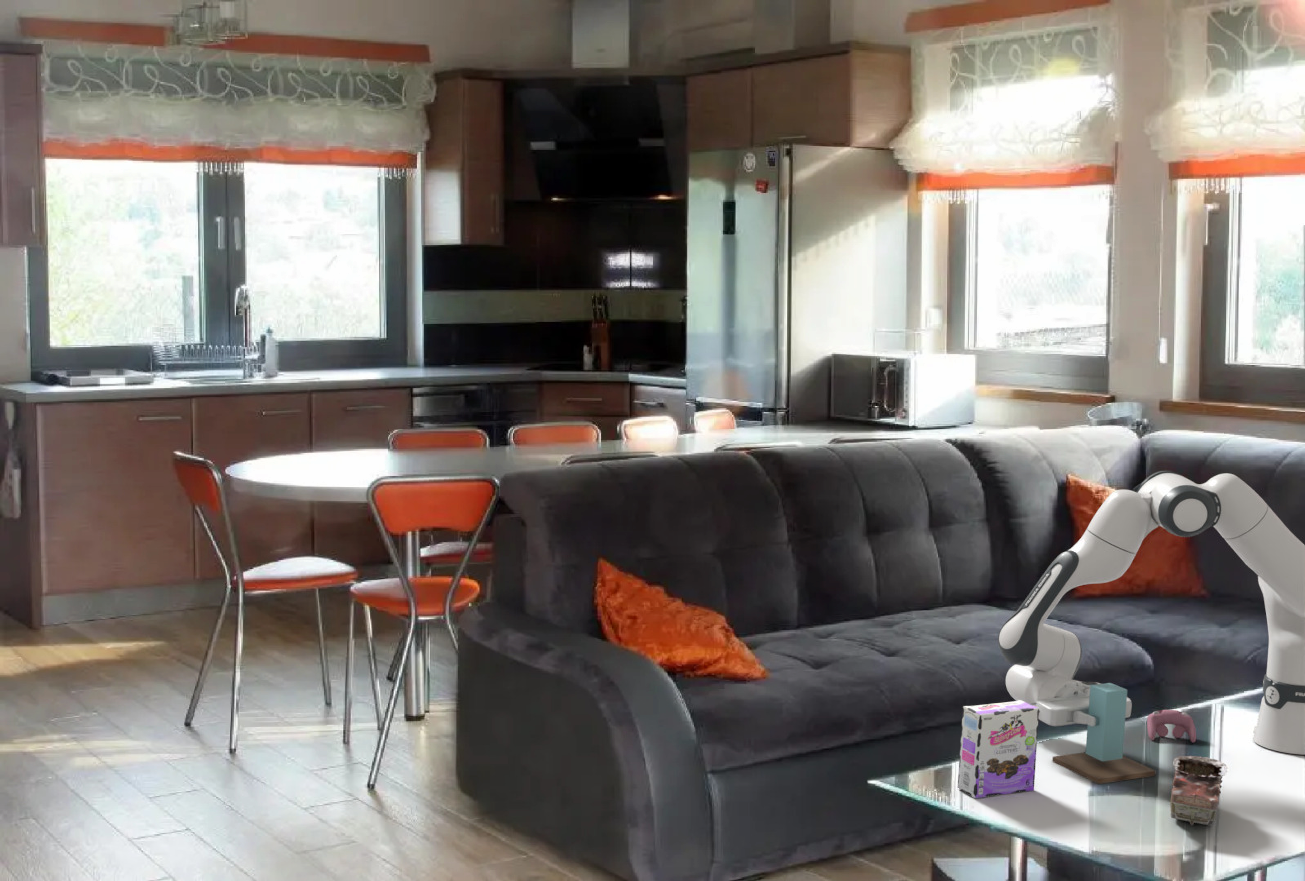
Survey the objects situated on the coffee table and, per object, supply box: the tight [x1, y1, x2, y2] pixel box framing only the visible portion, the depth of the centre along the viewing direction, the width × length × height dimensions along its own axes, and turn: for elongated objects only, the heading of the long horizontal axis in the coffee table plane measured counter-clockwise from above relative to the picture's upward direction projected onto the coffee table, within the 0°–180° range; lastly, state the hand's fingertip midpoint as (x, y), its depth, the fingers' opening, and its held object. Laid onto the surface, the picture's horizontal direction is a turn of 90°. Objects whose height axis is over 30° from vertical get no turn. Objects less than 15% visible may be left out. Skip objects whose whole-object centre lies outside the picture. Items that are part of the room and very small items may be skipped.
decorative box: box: [1169, 755, 1228, 827], centre depth 304 cm, size 13×20×10 cm, turn 153°
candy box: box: [957, 700, 1039, 799], centre depth 317 cm, size 14×6×16 cm, turn 114°
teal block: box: [1085, 682, 1128, 761], centre depth 331 cm, size 5×5×14 cm
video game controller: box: [1146, 709, 1197, 744], centre depth 353 cm, size 10×5×7 cm, turn 84°
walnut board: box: [1051, 751, 1156, 785], centre depth 332 cm, size 14×14×1 cm
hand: (1109, 720), depth 330 cm, fingers closed on teal block, 5 cm apart
